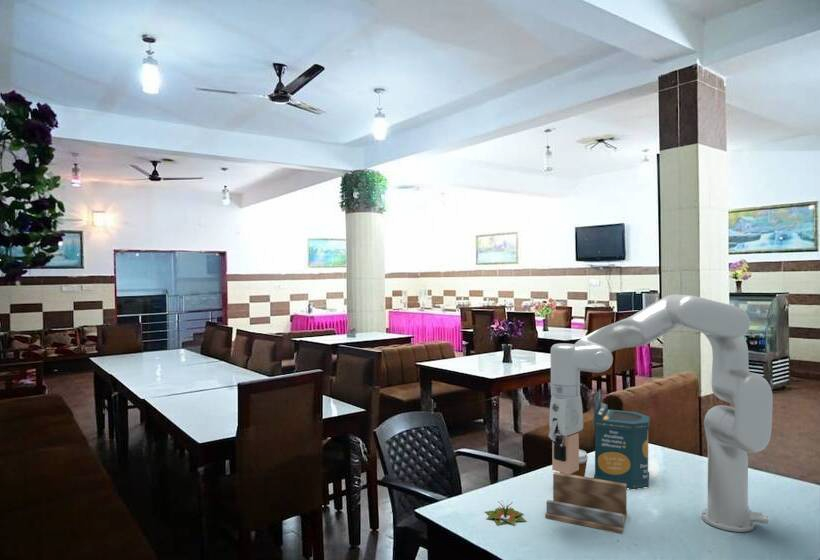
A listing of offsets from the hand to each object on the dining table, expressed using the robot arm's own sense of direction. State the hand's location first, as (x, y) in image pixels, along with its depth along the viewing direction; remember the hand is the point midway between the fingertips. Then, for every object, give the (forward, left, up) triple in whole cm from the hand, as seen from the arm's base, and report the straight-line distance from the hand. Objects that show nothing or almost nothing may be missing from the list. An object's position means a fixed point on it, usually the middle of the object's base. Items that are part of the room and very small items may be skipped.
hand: (565, 456), depth 145 cm
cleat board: (-4, -9, -19) cm, 22 cm away
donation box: (-10, -43, -19) cm, 49 cm away
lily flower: (+16, +1, -20) cm, 26 cm away
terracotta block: (0, 0, -4) cm, 4 cm away
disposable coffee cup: (+3, -26, -19) cm, 33 cm away
